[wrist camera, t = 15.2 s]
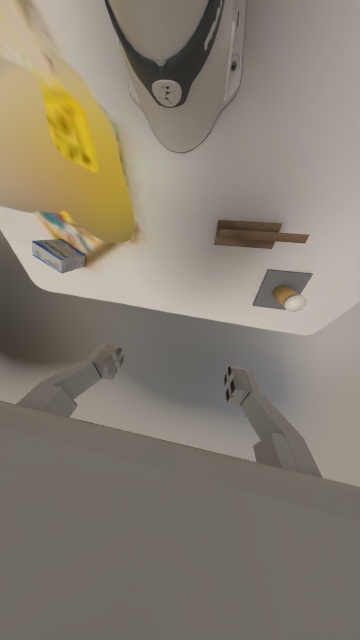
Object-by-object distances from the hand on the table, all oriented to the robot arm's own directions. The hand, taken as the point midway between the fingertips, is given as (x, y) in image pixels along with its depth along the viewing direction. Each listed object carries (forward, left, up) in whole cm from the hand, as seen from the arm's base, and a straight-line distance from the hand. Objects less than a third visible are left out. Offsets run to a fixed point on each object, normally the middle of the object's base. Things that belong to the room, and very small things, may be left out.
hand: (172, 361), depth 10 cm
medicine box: (0, -40, -34) cm, 53 cm away
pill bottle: (+5, +25, -34) cm, 42 cm away
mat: (+5, +25, -34) cm, 43 cm away
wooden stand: (-8, +11, -34) cm, 37 cm away
